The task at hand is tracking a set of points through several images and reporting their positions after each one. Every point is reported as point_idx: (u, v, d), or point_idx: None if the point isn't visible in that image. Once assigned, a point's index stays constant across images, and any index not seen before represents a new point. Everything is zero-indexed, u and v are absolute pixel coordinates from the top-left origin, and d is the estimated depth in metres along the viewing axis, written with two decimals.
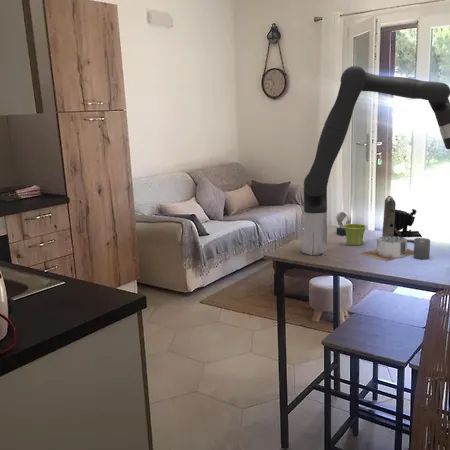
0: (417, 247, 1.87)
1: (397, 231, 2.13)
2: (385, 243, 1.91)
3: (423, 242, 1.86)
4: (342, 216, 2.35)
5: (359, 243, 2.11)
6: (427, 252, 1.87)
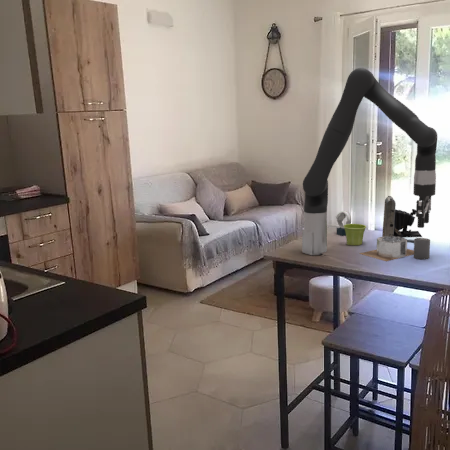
0: (417, 247, 1.87)
1: (397, 231, 2.13)
2: (385, 243, 1.91)
3: (423, 242, 1.86)
4: (342, 216, 2.35)
5: (359, 243, 2.11)
6: (427, 252, 1.87)
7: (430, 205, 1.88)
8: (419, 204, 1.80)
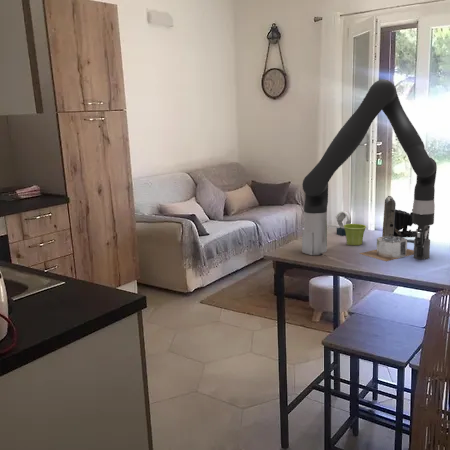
0: None
1: (397, 231, 2.13)
2: (385, 243, 1.91)
3: None
4: (342, 216, 2.35)
5: (359, 243, 2.11)
6: (427, 252, 1.87)
7: (428, 235, 1.90)
8: (418, 236, 1.82)
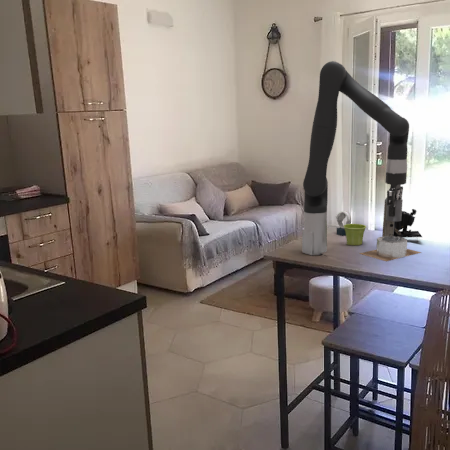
0: None
1: (397, 231, 2.13)
2: (385, 243, 1.91)
3: None
4: (342, 216, 2.35)
5: (359, 243, 2.11)
6: (399, 211, 1.89)
7: (401, 195, 1.92)
8: (389, 194, 1.85)
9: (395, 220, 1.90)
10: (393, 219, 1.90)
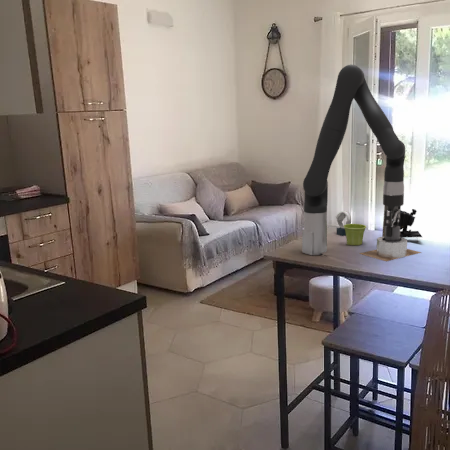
0: None
1: None
2: (385, 243, 1.91)
3: (393, 229, 1.91)
4: (342, 216, 2.35)
5: (359, 243, 2.11)
6: (397, 238, 1.92)
7: (399, 215, 1.95)
8: (387, 214, 1.87)
9: None
10: None
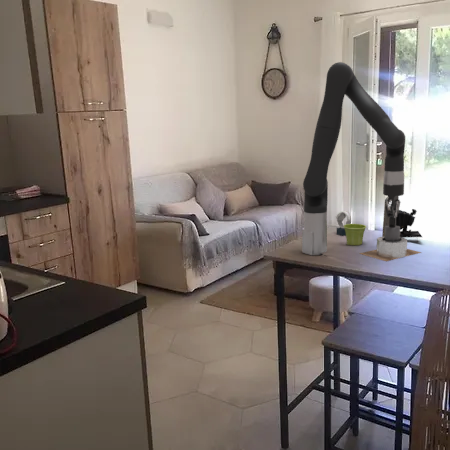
0: (388, 234, 1.92)
1: None
2: (385, 243, 1.91)
3: (393, 229, 1.91)
4: (342, 216, 2.35)
5: (359, 243, 2.11)
6: (397, 238, 1.92)
7: (398, 208, 1.92)
8: (388, 209, 1.87)
9: None
10: None
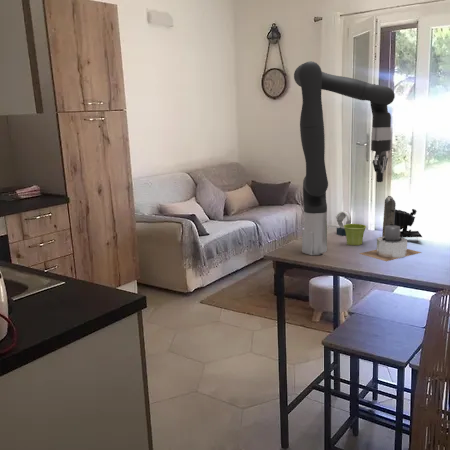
0: (388, 234, 1.92)
1: None
2: (385, 243, 1.91)
3: (393, 229, 1.91)
4: (342, 216, 2.35)
5: (359, 243, 2.11)
6: (397, 238, 1.92)
7: (385, 163, 2.02)
8: (375, 164, 1.97)
9: None
10: None
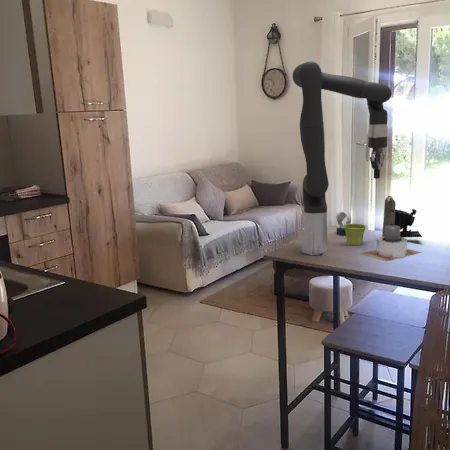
0: (388, 234, 1.92)
1: None
2: (385, 243, 1.91)
3: (393, 229, 1.91)
4: (342, 216, 2.35)
5: (359, 243, 2.11)
6: (397, 238, 1.92)
7: (382, 160, 2.05)
8: (372, 160, 2.00)
9: None
10: None
